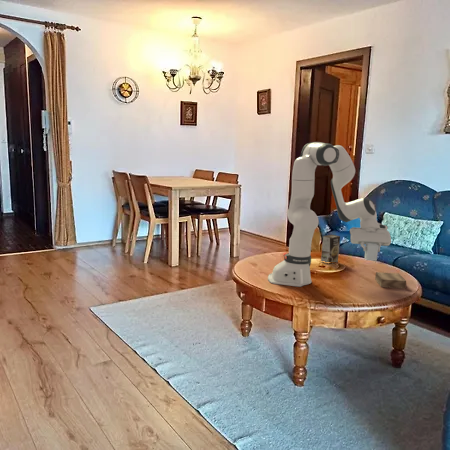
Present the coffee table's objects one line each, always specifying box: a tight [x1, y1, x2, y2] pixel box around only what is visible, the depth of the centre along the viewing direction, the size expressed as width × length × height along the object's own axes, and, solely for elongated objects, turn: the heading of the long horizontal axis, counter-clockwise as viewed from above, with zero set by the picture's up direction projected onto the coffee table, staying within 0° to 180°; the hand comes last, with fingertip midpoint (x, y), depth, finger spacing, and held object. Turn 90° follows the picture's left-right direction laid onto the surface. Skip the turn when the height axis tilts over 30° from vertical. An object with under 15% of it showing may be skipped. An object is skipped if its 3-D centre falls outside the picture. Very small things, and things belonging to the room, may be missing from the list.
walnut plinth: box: [374, 272, 407, 289], centre depth 224 cm, size 12×12×4 cm
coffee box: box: [320, 234, 341, 263], centre depth 258 cm, size 9×6×16 cm
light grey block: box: [364, 243, 379, 262], centre depth 221 cm, size 5×5×8 cm
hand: (371, 251), depth 221 cm, fingers closed on light grey block, 5 cm apart
